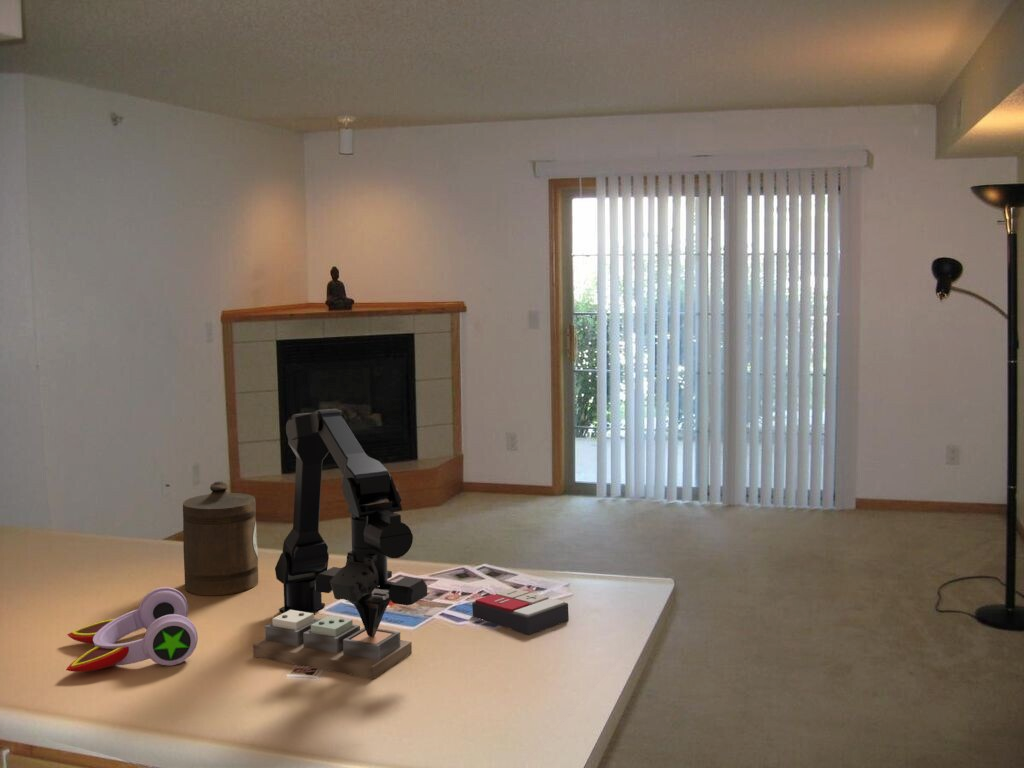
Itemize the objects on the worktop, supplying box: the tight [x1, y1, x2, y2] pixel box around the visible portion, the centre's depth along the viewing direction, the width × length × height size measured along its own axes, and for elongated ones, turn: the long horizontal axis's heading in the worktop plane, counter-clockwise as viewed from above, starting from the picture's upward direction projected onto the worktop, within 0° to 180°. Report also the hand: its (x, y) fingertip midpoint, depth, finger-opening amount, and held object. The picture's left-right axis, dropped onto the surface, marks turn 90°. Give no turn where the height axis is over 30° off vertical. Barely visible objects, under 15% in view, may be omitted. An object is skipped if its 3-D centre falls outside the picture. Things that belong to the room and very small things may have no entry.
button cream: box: [271, 610, 315, 630], centre depth 172 cm, size 5×5×2 cm
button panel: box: [252, 617, 413, 680], centre depth 169 cm, size 24×12×4 cm, turn 65°
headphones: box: [65, 586, 199, 673], centre depth 171 cm, size 20×10×20 cm
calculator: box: [471, 587, 570, 636], centre depth 187 cm, size 11×4×15 cm
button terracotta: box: [351, 631, 393, 644], centre depth 166 cm, size 5×5×2 cm
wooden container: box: [182, 480, 259, 597], centre depth 208 cm, size 15×15×22 cm
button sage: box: [311, 615, 354, 637], centre depth 169 cm, size 5×5×2 cm
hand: (371, 635), depth 166 cm, fingers closed, pressing on button terracotta
